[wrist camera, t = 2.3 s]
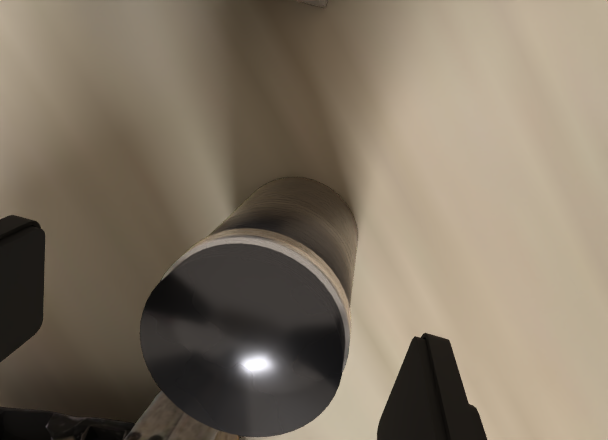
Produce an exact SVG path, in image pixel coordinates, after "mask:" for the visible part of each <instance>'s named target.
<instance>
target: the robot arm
mask: <svg viewBox="0 0 608 440" xmlns="http://www.w3.org/2000/svg"><path fill="white" fill-rule="evenodd" d="M44 261H45V232H44V231H43V230H42V229H41V227H40V225H39V223H38V222H36V221H33V220H30V219H26V218H23V217H19V216H15V215H11V216H7V217H5V218H2V219H0V362H1V361H2V360H4V359H5V358H6V357H7V356H9V355H10V354H11V353H12V352H14V351H15V350H16V349H17V348H19V347H20V346H21V345H22V344H24V343H25V342H26V341H27V340H28V339H30V338H31V337H32V336H33V335H35V334H36V333H37V331H38V330H39V329H40V327H41V325H42V321H43V298H44ZM377 440H487V437H486V434H485V431H484V428H483V425H482V422H481V419H480V416H479V413H478V411H477V409H476V408H475V407H474V406H473V405H470V404H469V403H468V400H467V397H466V393H465V390H464V387H463V384H462V380H461V377H460V374H459V370H458V367H457V364H456V360H455V357H454V354H453V350H452V347H451V344H450V341H449V340H448V339H445V338H441V337H438V336H434V335H431V334H427V333H424V334H423V335H422V336H421V338H419V337H416V336H415V337H414V338H413V339H412V341H411V344H410V346H409V349H408V351H407V354H406V356H405V359H404V361H403V364H402V366H401V369H400V371H399V374H398V376H397V379H396V381H395V384H394V386H393V389H392V391H391V394H390V396H389V399H388V401H387V404H386V406H385V409H384V411H383V414H382V416H381V419H380V421H379V425H378V431H377Z"/></svg>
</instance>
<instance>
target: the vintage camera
mask: <svg viewBox="0 0 608 440" xmlns="http://www.w3.org/2000/svg"><path fill="white" fill-rule="evenodd" d="M0 440H239V436H238V435H234V434H229V433H226V432H222V431H219V430H216V429H214V428H211V427H209V426H207V425H205V424H203V423H201V422H199V421H197V420H195V419H194V418H192V417H190V416H189V415H187V414H186V413H185V412H183V411H182V410H181V409H179V408H178V407H177V406H176V405H175V404H174V403H173V402H172V401H171V400H170V399H169V398H168V397H167V396H166V395H165V394H164V393H163V391H161V392H159V393H158V394H157V395H156V397H155V398H154V400H153V401H152V403H151V404H150V406H149V407H148V408H147V409H146V411H145V412H144V413H143V414H142V416H141V417H140V418H139V419H138V421H137V422H136V423H128V422H122V421H116V420H110V419H102V418H93V417H80V418H79V417H74V416H69V415H64V414H60V413H56V412H50V411H41V410H28V409H16V408H6V407H0Z"/></svg>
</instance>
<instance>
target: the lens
mask: <svg viewBox="0 0 608 440" xmlns="http://www.w3.org/2000/svg"><path fill="white" fill-rule="evenodd" d="M357 241H358V235H357V227H356V223H355V220H354V217H353V214H352V212H351V210H350V209H349V207H348V206H347V204H346V203H345V201H344V200H343V199H342V198H341V197H340V196H339V195H338V194H337V193H336V192H335V191H333V190H332V189H330V188H329V187H327V186H326V185H324V184H322V183H320V182H317V181H314V180H311V179H307V178H300V177H287V178H281V179H277V180H274V181H271V182H269V183H267V184H265V185H263V186H262V187H260V188H259V189H258V190H256V191H255V192H254V193H253V194H252V195H251V196H250V197H249V198H248V199H247V200H246V201H245V202H244V203H243V204H242V205H240V206H239V207H238V208H237V209H236V210H235V211H234V212H233V213H232V214H231V215H230V216H229V217H228V218H227V219H226V220H225V221H224V222H223V223H222V224H220V225H219V226H218V227H217V228H216V229H215V230H214V231H213V232H212V233H211V234H210V235H209V236H208V237H206V238H204V239H202V240H201V241H199V242H198V243H196V244H195V245H193V246H192V247H191V248H190V249H189V250H188V251H187V252H186V253H184V254H183V255H182V256H181V257H180V258H179V259H178V260H177V261H176V262H175V263H174V264H173V265H172V266H171V267H170V268H169V269H168V270H167V272H166V273H165V274H164V276H163V278H162V279H161V281H160V283H159V284H158V285H157V286H156V287H155V289H154V290H153V291H152V293H151V295H150V296H149V298H148V300H147V302H146V304H145V307H144V310H143V313H142V318H141V323H140V341H141V348H142V352H143V357H144V359H145V362H146V365H147V367H148V369H149V371H150V373H151V375H152V377H153V379H154V380H155V382H156V383H157V385H158V386H159V388H160V389H161V390H162V391H163V393H164V394H165V395H166V396H167V397H168V398H169V399H170V400H171V401H172V402H173V403H174V404H175V405H176V406H177V407H178V408H179V409H181V410H182V411H183V412H185V413H186V414H187V415H189V416H190V417H192V418H194V419H195V420H197V421H199V422H201V423H203V424H205V425H207V426H209V427H211V428H214V429H216V430H219V431H222V432H226V433H229V434H234V435H240V436H247V437H269V436H275V435H281V434H284V433H288V432H291V431H294V430H296V429H298V428H301V427H303V426H304V425H306V424H308V423H309V422H311V421H313V420H314V419H315V418H316V417H317V416H319V415H320V414H321V413H322V412H323V411H324V410H325V408H326V407H327V406H328V405H329V404H330V402H331V400H332V399H333V397H334V396H335V394H336V391H337V389H338V387H339V384H340V380H341V376H342V372H343V370H344V368H345V365H346V362H347V358H348V354H349V344H350V334H351V312H350V302H351V293H352V285H353V276H354V268H355V259H356V251H357Z"/></svg>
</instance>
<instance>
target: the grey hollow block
mask: <svg viewBox="0 0 608 440" xmlns="http://www.w3.org/2000/svg"><path fill="white" fill-rule="evenodd" d="M295 1H299V2H303V3H307V4H311V5H315V6H319V7H323V8H326V5H327V1H328V0H295Z"/></svg>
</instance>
